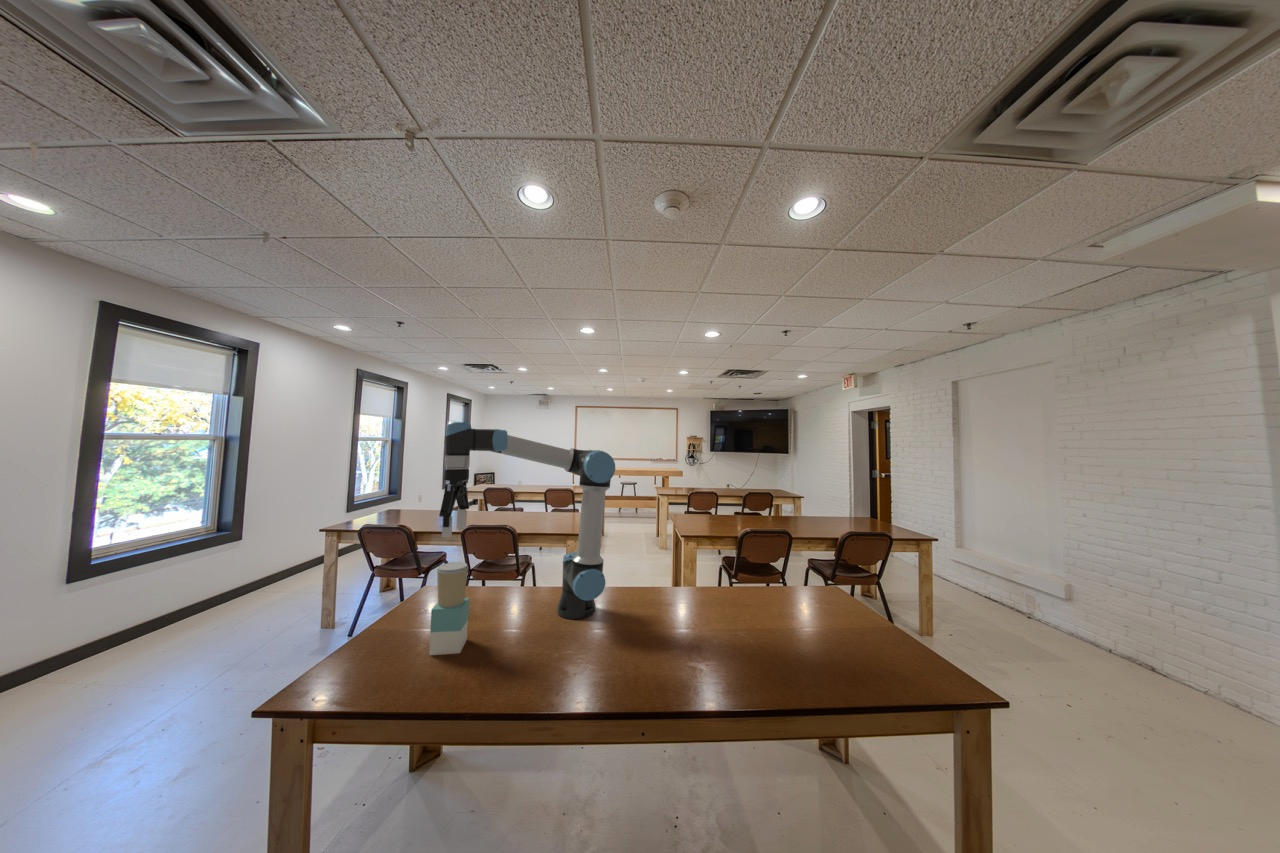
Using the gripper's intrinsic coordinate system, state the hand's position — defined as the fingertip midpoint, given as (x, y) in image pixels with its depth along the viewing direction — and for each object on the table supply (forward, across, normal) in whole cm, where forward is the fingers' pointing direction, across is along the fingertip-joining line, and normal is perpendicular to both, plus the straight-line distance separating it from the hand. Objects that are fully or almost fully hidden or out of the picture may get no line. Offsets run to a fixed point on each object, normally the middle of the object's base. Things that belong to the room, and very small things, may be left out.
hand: (454, 532), depth 131 cm
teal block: (+30, 0, 0) cm, 30 cm away
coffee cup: (+23, 0, 0) cm, 23 cm away
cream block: (+37, 0, 0) cm, 37 cm away
